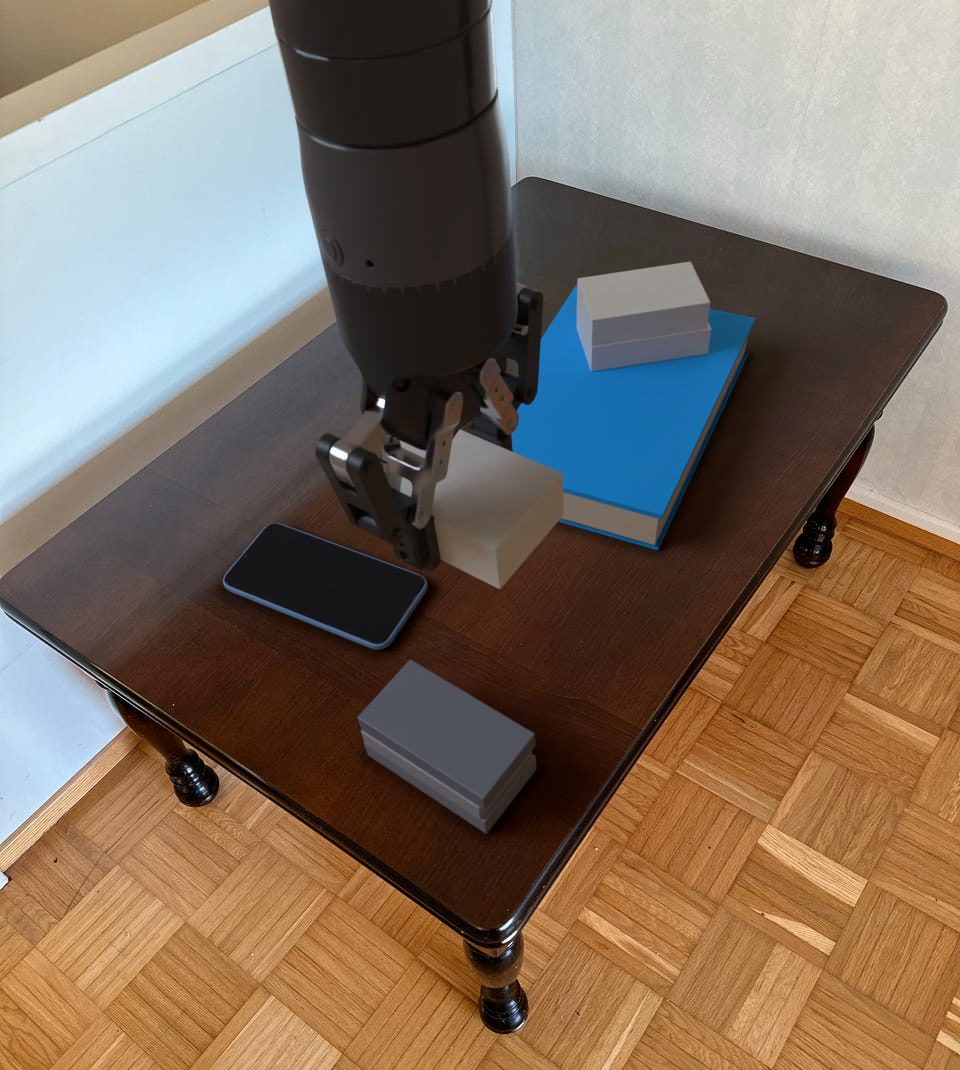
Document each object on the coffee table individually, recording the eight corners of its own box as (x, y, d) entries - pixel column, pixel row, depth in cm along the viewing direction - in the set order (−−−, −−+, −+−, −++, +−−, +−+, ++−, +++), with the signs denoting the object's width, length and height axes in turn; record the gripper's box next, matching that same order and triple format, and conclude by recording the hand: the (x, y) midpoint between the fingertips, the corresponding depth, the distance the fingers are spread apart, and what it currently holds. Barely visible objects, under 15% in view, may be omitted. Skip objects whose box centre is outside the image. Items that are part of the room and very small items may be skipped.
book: (755, 316, 81) (666, 512, 68) (747, 357, 85) (661, 552, 72) (570, 279, 86) (454, 455, 73) (569, 319, 90) (459, 495, 77)
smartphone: (383, 649, 67) (215, 582, 72) (385, 656, 68) (219, 589, 73) (432, 575, 71) (270, 516, 75) (433, 582, 71) (272, 523, 76)
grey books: (538, 769, 62) (536, 732, 58) (487, 835, 59) (482, 800, 55) (419, 696, 66) (409, 656, 62) (367, 755, 63) (354, 717, 59)
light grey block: (564, 515, 48) (563, 473, 46) (500, 590, 46) (496, 550, 43) (419, 449, 52) (411, 407, 50) (352, 515, 50) (341, 475, 47)
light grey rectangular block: (688, 311, 82) (695, 259, 78) (707, 354, 79) (716, 302, 75) (576, 328, 82) (577, 277, 78) (590, 372, 78) (592, 320, 74)
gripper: (371, 358, 31) (433, 647, 45) (597, 155, 37) (591, 463, 51) (212, 293, 34) (316, 583, 48) (447, 114, 40) (479, 416, 54)
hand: (458, 520), depth 49 cm, fingers closed on light grey block, 5 cm apart
